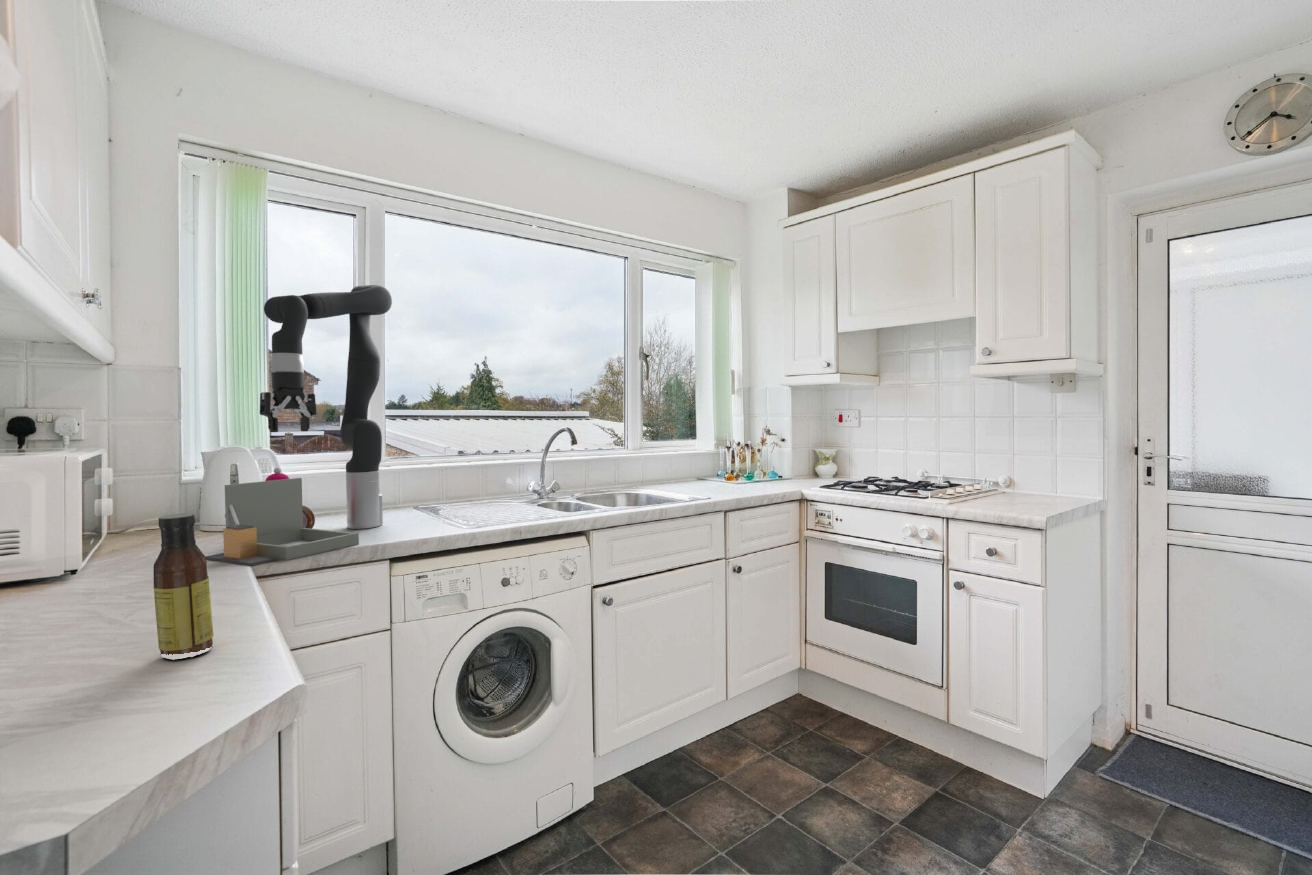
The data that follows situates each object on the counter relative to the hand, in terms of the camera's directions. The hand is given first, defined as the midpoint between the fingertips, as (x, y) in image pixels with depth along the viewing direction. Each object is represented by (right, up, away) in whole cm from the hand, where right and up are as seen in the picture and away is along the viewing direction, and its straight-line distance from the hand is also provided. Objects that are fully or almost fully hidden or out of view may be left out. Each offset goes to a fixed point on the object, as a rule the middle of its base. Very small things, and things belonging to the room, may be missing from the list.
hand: (289, 431), depth 167 cm
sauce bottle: (+32, -32, -79) cm, 91 cm away
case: (+5, -30, -6) cm, 31 cm away
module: (-1, -30, -18) cm, 35 cm away
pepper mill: (-8, -30, +8) cm, 32 cm away
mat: (-1, -31, -18) cm, 36 cm away
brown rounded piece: (-10, -30, +15) cm, 35 cm away
